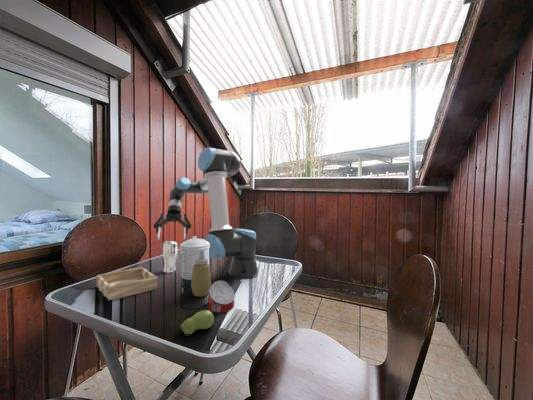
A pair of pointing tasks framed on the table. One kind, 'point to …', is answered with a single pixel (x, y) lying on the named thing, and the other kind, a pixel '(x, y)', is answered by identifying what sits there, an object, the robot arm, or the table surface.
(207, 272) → the squeeze bottle
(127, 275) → the crate
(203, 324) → the pear
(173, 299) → the table surface
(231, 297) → the canned food
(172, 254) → the beer glass
